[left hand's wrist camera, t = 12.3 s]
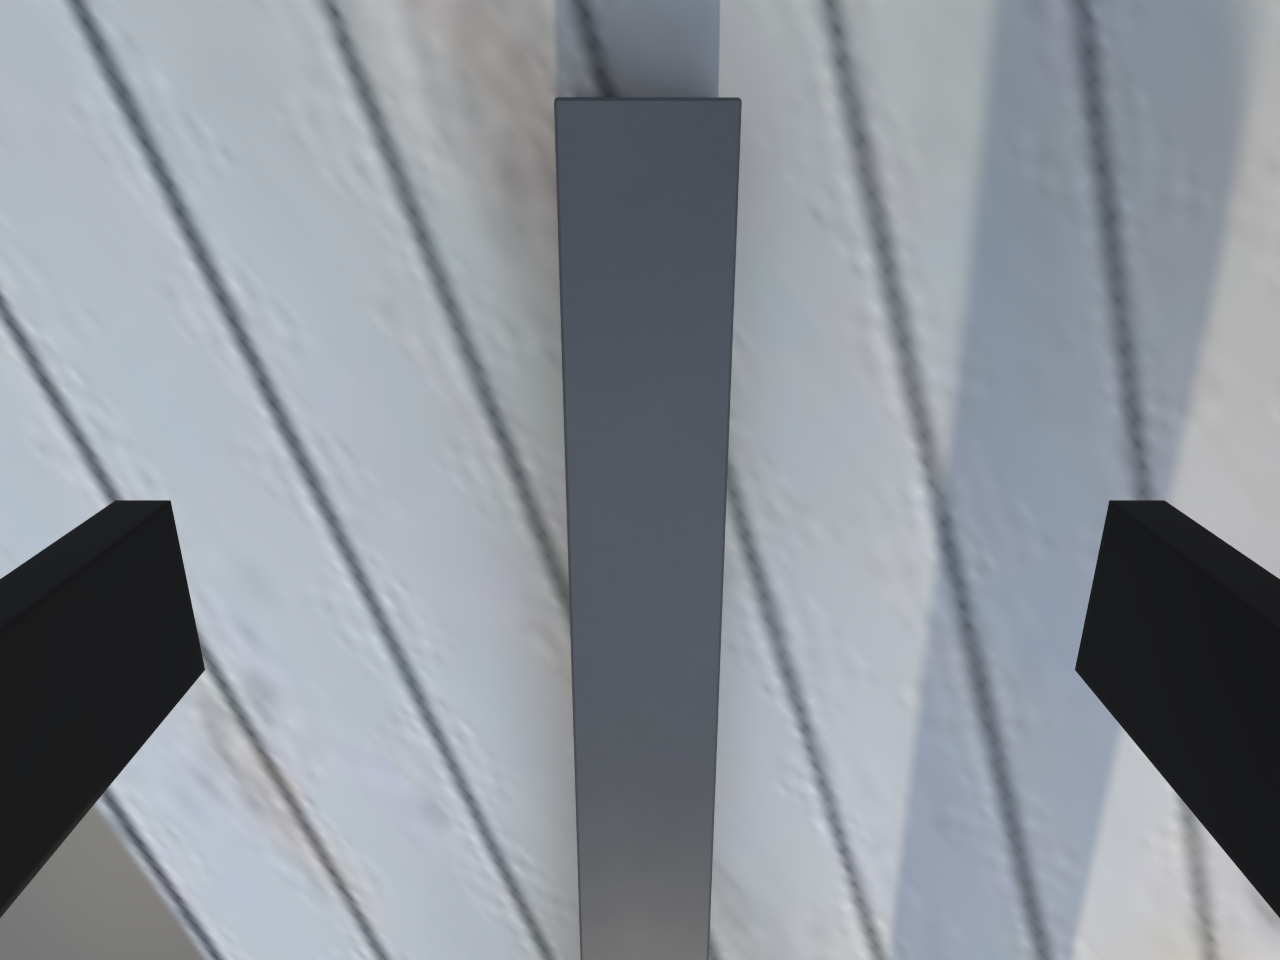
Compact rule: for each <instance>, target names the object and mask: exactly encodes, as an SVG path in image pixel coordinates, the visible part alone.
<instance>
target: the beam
mask: <svg viewBox="0 0 1280 960" xmlns="http://www.w3.org/2000/svg"><path fill="white" fill-rule="evenodd" d="M741 104H742V101H741V99H740V98H613V97H558V98H555V101H554V112H555V144H556V177H557V209H558V241H559V274H560V306H561V338H562V370H563V403H564V435H565V467H566V500H567V532H568V564H569V597H570V629H571V661H572V694H573V726H574V758H575V790H576V823H577V855H578V887H579V920H580V952H581V960H709V935H710V909H711V883H712V858H713V832H714V806H715V780H716V754H717V728H718V702H719V676H720V650H721V624H722V598H723V572H724V546H725V520H726V494H727V468H728V442H729V416H730V390H731V364H732V338H733V312H734V286H735V260H736V234H737V208H738V182H739V156H740V130H741Z"/></svg>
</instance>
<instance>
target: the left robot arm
mask: <svg viewBox="0 0 1280 960" xmlns="http://www.w3.org/2000/svg"><path fill="white" fill-rule="evenodd" d="M204 670H205V668H204V663H203V658H202V653H201V648H200V643H199V638H198V633H197V628H196V623H195V619H194V614H193V609H192V604H191V599H190V594H189V589H188V584H187V579H186V574H185V569H184V565H183V560H182V555H181V550H180V545H179V540H178V535H177V530H176V525H175V520H174V515H173V510H172V506H171V501H114V502H113V503H111V504H110V505H108V506H107V507H105V508H104V509H103V510H101V511H100V512H98V513H97V514H95V515H94V516H92V517H91V518H89V519H88V520H86V521H85V522H83V523H82V524H81V525H79V526H78V527H76V528H75V529H73V530H72V531H70V532H69V533H67V534H66V535H64V536H63V537H62V538H60V539H59V540H57V541H56V542H54V543H53V544H51V545H50V546H48V547H47V548H45V549H44V550H42V551H41V552H40V553H38V554H37V555H35V556H34V557H32V558H31V559H29V560H28V561H26V562H25V563H23V564H22V565H21V566H19V567H18V568H16V569H15V570H13V571H12V572H10V573H9V574H7V575H6V576H4V577H3V578H1V579H0V918H1V916H2V915H3V914H4V913H5V912H6V910H7V909H8V908H9V907H10V905H11V904H12V903H13V902H14V901H15V899H16V898H17V897H18V896H19V895H20V893H21V892H22V891H23V890H24V888H25V887H26V886H27V885H28V884H29V882H30V881H31V880H32V879H33V878H34V876H35V875H36V874H37V873H38V872H39V870H40V869H41V868H42V867H43V865H44V864H45V863H46V862H47V861H48V859H49V858H50V857H51V856H52V855H53V853H54V852H55V851H56V850H57V849H58V847H59V846H60V845H61V844H62V842H63V841H64V840H65V839H66V838H67V836H68V835H69V834H70V833H71V832H72V830H73V829H74V828H75V827H76V826H77V824H78V823H79V822H80V821H81V819H82V818H83V817H84V816H85V815H86V813H87V812H88V811H89V810H90V809H91V807H92V806H93V805H94V804H95V802H96V801H97V800H98V799H99V798H100V796H101V795H102V794H103V793H104V792H105V790H106V789H107V788H108V787H109V786H110V784H111V783H112V782H113V781H114V779H115V778H116V777H117V776H118V775H119V773H120V772H121V771H122V770H123V769H124V767H125V766H126V765H127V764H128V762H129V761H130V760H131V759H132V758H133V756H134V755H135V754H136V753H137V752H138V750H139V749H140V748H141V747H142V746H143V744H144V743H145V742H146V741H147V739H148V738H149V737H150V736H151V735H152V733H153V732H154V731H155V730H156V729H157V727H158V726H159V725H160V724H161V722H162V721H163V720H164V719H165V718H166V716H167V715H168V714H169V713H170V712H171V710H172V709H173V708H174V707H175V706H176V704H177V703H178V702H179V701H180V699H181V698H182V697H183V696H184V695H185V693H186V692H187V691H188V690H189V689H190V687H191V686H192V685H193V684H194V682H195V681H196V680H197V679H198V678H199V676H200V675H201V674H202V673H203V672H204ZM1075 670H1076V672H1077V673H1078V674H1079V675H1080V676H1081V678H1082V679H1083V680H1084V681H1085V682H1086V684H1087V685H1088V686H1089V687H1090V689H1091V690H1092V691H1093V692H1094V693H1095V695H1096V696H1097V697H1098V698H1099V699H1100V701H1101V702H1102V703H1103V704H1104V706H1105V707H1106V708H1107V709H1108V710H1109V712H1110V713H1111V714H1112V715H1113V716H1114V718H1115V719H1116V720H1117V721H1118V722H1119V724H1120V725H1121V726H1122V727H1123V729H1124V730H1125V731H1126V732H1127V733H1128V735H1129V736H1130V737H1131V738H1132V739H1133V741H1134V742H1135V743H1136V744H1137V746H1138V747H1139V748H1140V749H1141V750H1142V752H1143V753H1144V754H1145V755H1146V756H1147V758H1148V759H1149V760H1150V761H1151V762H1152V764H1153V765H1154V766H1155V767H1156V769H1157V770H1158V771H1159V772H1160V773H1161V775H1162V776H1163V777H1164V778H1165V779H1166V781H1167V782H1168V783H1169V784H1170V786H1171V787H1172V788H1173V789H1174V790H1175V792H1176V793H1177V794H1178V795H1179V796H1180V798H1181V799H1182V800H1183V801H1184V802H1185V804H1186V805H1187V806H1188V807H1189V809H1190V810H1191V811H1192V812H1193V813H1194V815H1195V816H1196V817H1197V818H1198V819H1199V821H1200V822H1201V823H1202V824H1203V826H1204V827H1205V828H1206V829H1207V830H1208V832H1209V833H1210V834H1211V835H1212V836H1213V838H1214V839H1215V840H1216V841H1217V842H1218V844H1219V845H1220V846H1221V847H1222V849H1223V850H1224V851H1225V852H1226V853H1227V855H1228V856H1229V857H1230V858H1231V859H1232V861H1233V862H1234V863H1235V864H1236V866H1237V867H1238V868H1239V869H1240V870H1241V872H1242V873H1243V874H1244V875H1245V876H1246V878H1247V879H1248V880H1249V881H1250V882H1251V884H1252V885H1253V886H1254V887H1255V889H1256V890H1257V891H1258V892H1259V893H1260V895H1261V896H1262V897H1263V898H1264V899H1265V901H1266V902H1267V903H1268V904H1269V906H1270V907H1271V908H1272V909H1273V910H1274V912H1275V913H1276V914H1277V915H1278V916H1279V918H1280V579H1279V578H1277V577H1276V576H1274V575H1273V574H1271V573H1270V572H1268V571H1267V570H1265V569H1264V568H1262V567H1261V566H1259V565H1258V564H1257V563H1255V562H1254V561H1252V560H1251V559H1249V558H1248V557H1246V556H1245V555H1243V554H1242V553H1240V552H1239V551H1238V550H1236V549H1235V548H1233V547H1232V546H1230V545H1229V544H1227V543H1226V542H1224V541H1223V540H1221V539H1220V538H1218V537H1217V536H1216V535H1214V534H1213V533H1211V532H1210V531H1208V530H1207V529H1205V528H1204V527H1202V526H1201V525H1199V524H1198V523H1197V522H1195V521H1194V520H1192V519H1191V518H1189V517H1188V516H1186V515H1185V514H1183V513H1182V512H1180V511H1179V510H1177V509H1176V508H1175V507H1173V506H1172V505H1170V504H1169V503H1167V502H1166V501H1109V506H1108V510H1107V515H1106V520H1105V525H1104V530H1103V535H1102V540H1101V545H1100V550H1099V555H1098V560H1097V564H1096V569H1095V574H1094V579H1093V584H1092V589H1091V594H1090V599H1089V604H1088V609H1087V614H1086V619H1085V623H1084V628H1083V633H1082V638H1081V643H1080V648H1079V653H1078V658H1077V663H1076V668H1075Z"/></svg>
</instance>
